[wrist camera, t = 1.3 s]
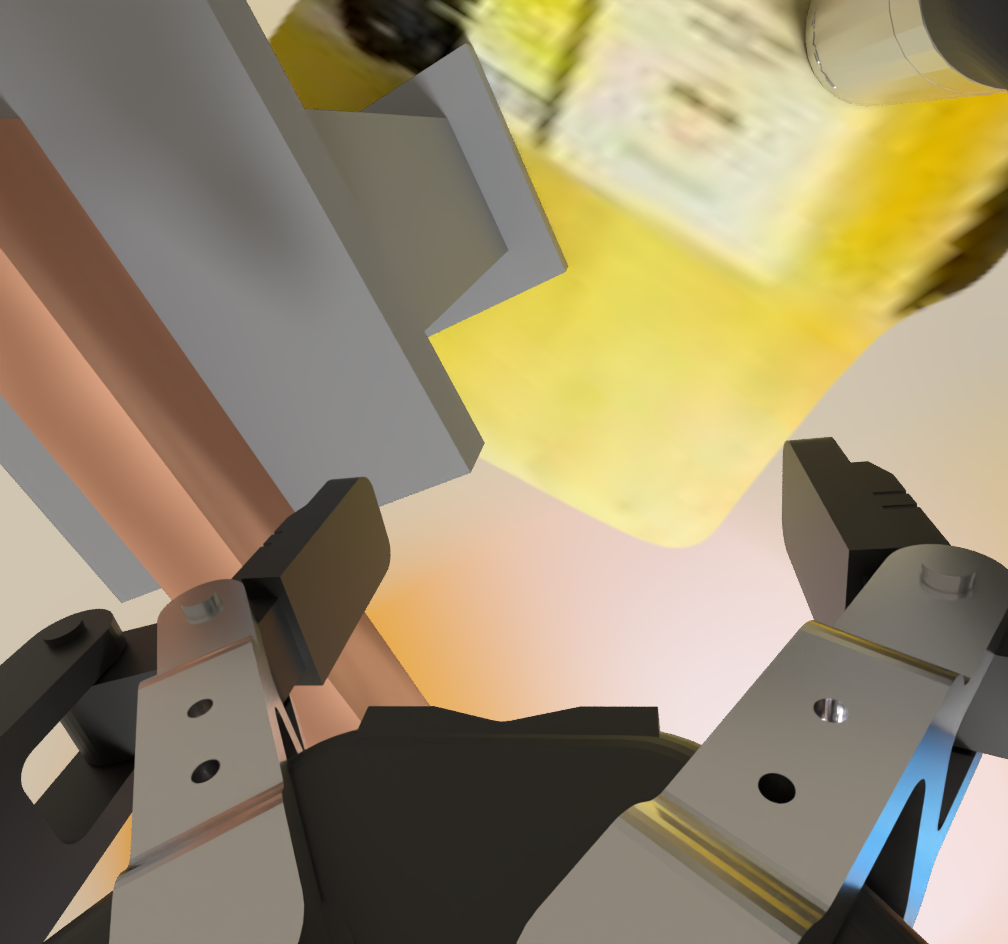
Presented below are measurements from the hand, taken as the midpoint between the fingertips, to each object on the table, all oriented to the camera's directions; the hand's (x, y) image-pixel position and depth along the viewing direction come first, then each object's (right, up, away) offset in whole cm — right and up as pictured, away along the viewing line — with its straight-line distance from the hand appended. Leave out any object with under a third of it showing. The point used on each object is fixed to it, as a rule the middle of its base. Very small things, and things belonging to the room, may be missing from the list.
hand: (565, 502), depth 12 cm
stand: (-7, +19, +34) cm, 39 cm away
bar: (-10, 0, +8) cm, 12 cm away
